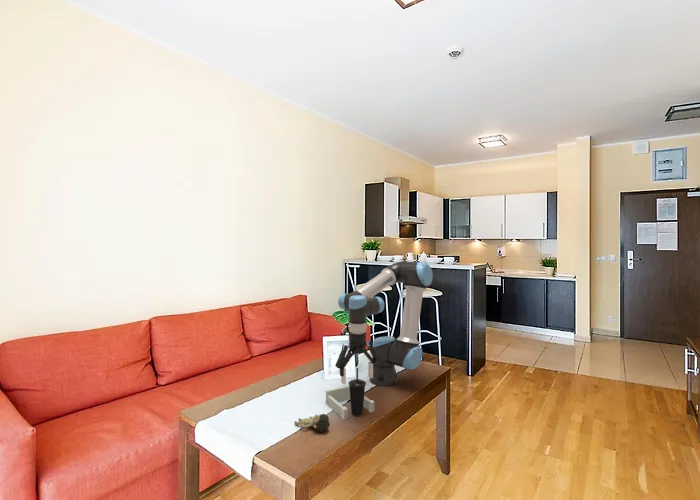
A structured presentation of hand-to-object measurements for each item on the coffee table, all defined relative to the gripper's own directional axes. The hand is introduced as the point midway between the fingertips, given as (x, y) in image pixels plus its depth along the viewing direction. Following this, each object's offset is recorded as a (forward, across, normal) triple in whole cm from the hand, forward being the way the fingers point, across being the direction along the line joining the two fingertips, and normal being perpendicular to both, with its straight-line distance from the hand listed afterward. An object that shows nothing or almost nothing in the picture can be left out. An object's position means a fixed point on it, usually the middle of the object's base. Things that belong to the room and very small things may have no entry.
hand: (357, 380), depth 163 cm
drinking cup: (+15, 0, 0) cm, 15 cm away
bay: (+15, 0, -6) cm, 16 cm away
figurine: (+15, +22, +2) cm, 27 cm away
